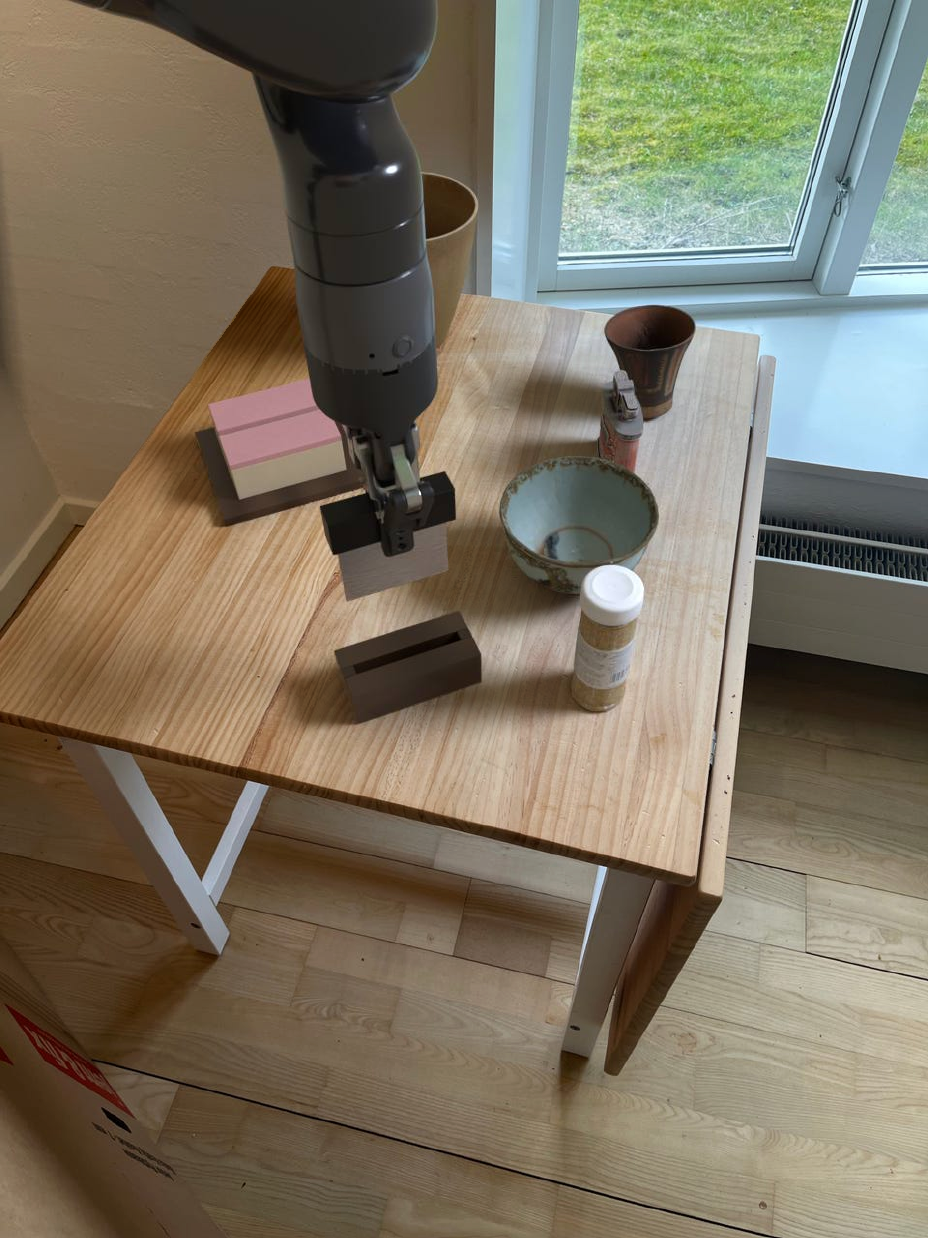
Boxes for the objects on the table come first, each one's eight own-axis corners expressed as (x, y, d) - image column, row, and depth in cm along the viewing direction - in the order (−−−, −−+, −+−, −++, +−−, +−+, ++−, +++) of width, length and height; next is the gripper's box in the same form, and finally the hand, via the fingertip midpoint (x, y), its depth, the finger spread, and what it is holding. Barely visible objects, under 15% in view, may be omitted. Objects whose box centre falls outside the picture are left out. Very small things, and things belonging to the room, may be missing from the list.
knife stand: (357, 724, 77) (351, 697, 74) (339, 678, 80) (333, 650, 77) (482, 682, 80) (481, 654, 77) (460, 638, 83) (459, 609, 79)
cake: (239, 500, 93) (229, 465, 89) (229, 471, 95) (218, 436, 92) (346, 470, 95) (341, 435, 92) (333, 442, 98) (327, 407, 94)
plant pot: (453, 386, 105) (447, 252, 92) (331, 360, 108) (309, 227, 96) (497, 312, 113) (497, 180, 101) (382, 290, 117) (369, 160, 104)
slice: (227, 465, 96) (216, 430, 92) (217, 438, 99) (207, 403, 95) (331, 437, 98) (325, 402, 95) (319, 411, 101) (313, 376, 97)
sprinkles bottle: (606, 661, 81) (623, 554, 70) (635, 701, 78) (657, 596, 68) (559, 681, 80) (569, 575, 69) (587, 722, 77) (602, 618, 66)
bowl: (541, 648, 82) (545, 587, 76) (474, 545, 89) (473, 483, 83) (676, 594, 85) (690, 532, 79) (600, 500, 93) (607, 437, 87)
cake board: (226, 526, 92) (223, 519, 91) (196, 439, 100) (194, 431, 99) (372, 484, 95) (371, 477, 94) (333, 403, 103) (331, 395, 103)
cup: (609, 370, 106) (618, 289, 98) (689, 386, 104) (705, 305, 96) (586, 418, 101) (594, 337, 93) (670, 437, 98) (685, 355, 91)
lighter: (590, 441, 98) (598, 360, 91) (622, 438, 98) (633, 357, 91) (606, 495, 93) (616, 414, 86) (640, 491, 93) (653, 411, 86)
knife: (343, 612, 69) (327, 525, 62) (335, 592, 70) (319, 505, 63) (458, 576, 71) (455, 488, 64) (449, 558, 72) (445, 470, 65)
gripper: (272, 276, 57) (314, 490, 70) (339, 413, 48) (371, 625, 62) (391, 250, 58) (409, 463, 72) (475, 378, 50) (478, 592, 63)
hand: (392, 537), depth 67 cm, fingers closed on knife, 2 cm apart
